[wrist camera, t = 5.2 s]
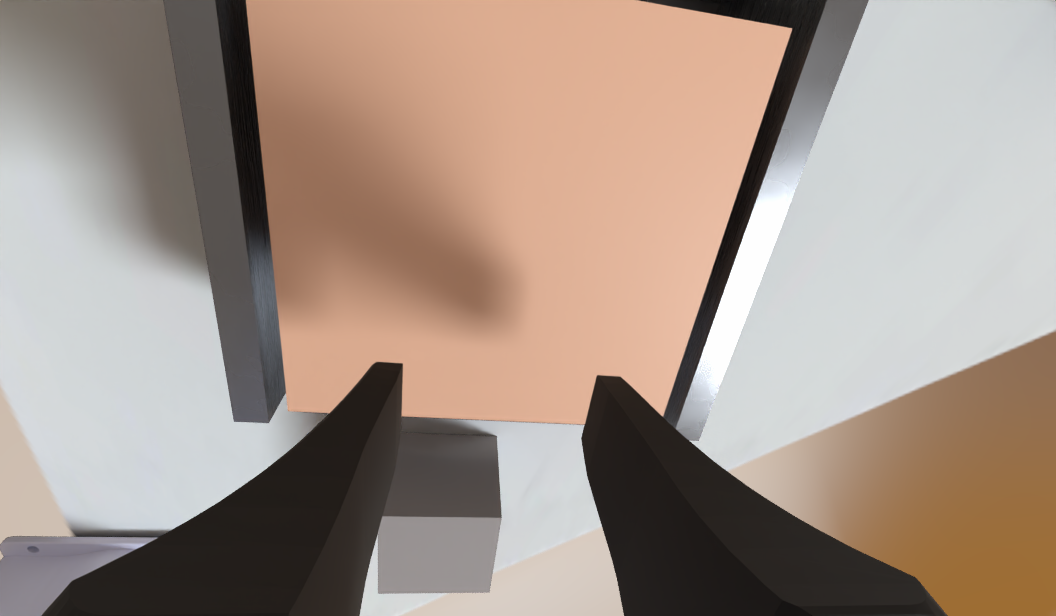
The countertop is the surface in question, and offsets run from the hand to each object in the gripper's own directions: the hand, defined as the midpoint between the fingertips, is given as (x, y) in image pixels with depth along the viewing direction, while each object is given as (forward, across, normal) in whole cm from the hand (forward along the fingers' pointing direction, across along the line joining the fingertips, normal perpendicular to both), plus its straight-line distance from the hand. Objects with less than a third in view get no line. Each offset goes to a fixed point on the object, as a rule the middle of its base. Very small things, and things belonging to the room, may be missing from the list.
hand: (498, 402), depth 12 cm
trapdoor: (+4, 0, -4) cm, 6 cm away
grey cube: (+10, +1, +12) cm, 15 cm away
